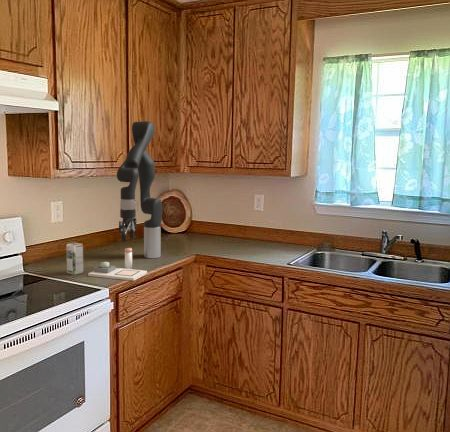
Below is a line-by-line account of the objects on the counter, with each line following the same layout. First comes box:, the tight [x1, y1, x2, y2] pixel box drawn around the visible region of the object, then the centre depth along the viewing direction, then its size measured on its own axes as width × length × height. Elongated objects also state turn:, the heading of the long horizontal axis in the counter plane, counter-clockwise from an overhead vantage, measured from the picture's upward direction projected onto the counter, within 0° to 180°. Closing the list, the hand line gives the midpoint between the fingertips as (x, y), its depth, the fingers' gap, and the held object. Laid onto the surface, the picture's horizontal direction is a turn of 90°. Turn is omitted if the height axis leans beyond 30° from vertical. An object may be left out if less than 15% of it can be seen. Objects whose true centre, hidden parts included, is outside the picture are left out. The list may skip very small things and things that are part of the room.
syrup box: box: [66, 242, 84, 275], centre depth 228 cm, size 6×6×14 cm
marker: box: [124, 247, 133, 269], centre depth 237 cm, size 4×4×10 cm
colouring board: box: [87, 264, 148, 282], centre depth 227 cm, size 14×24×3 cm, turn 74°
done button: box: [99, 261, 110, 268], centre depth 229 cm, size 4×4×3 cm
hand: (128, 240), depth 236 cm, fingers open, 8 cm apart
